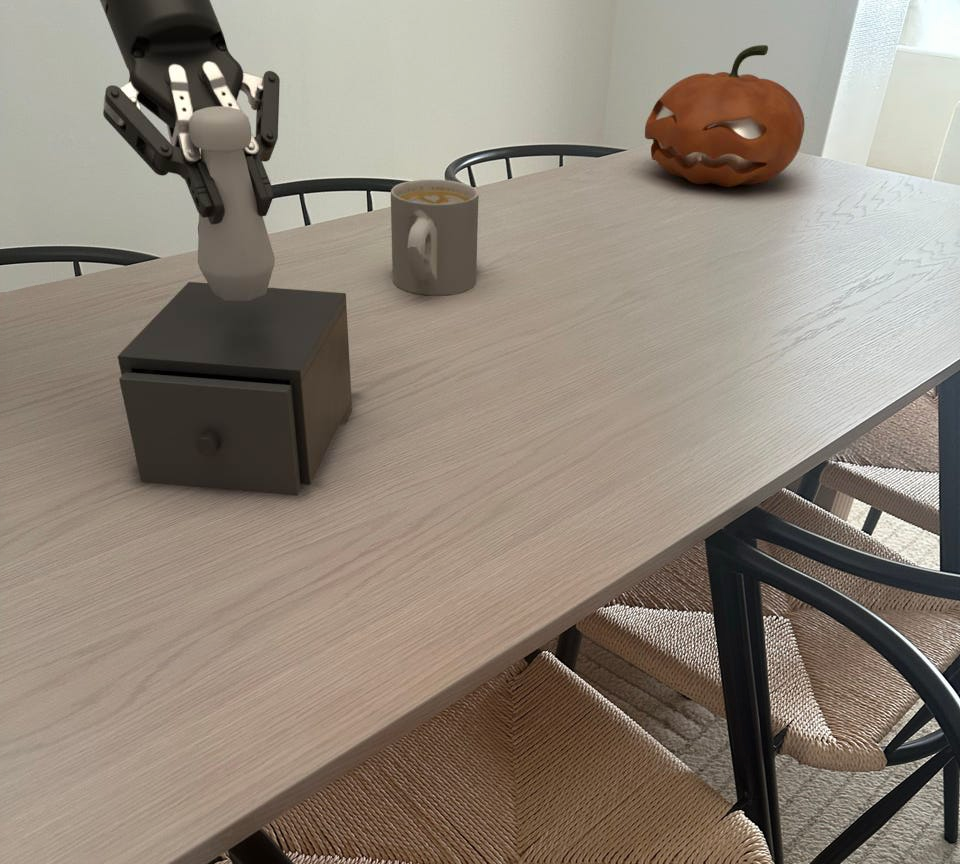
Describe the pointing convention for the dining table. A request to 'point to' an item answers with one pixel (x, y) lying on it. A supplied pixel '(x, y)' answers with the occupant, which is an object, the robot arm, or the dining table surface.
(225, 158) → the salt shaker
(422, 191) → the coffee mug
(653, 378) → the dining table surface
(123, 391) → the dark grey drawer
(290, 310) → the dark grey drawer box
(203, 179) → the robot arm
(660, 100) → the pumpkin
